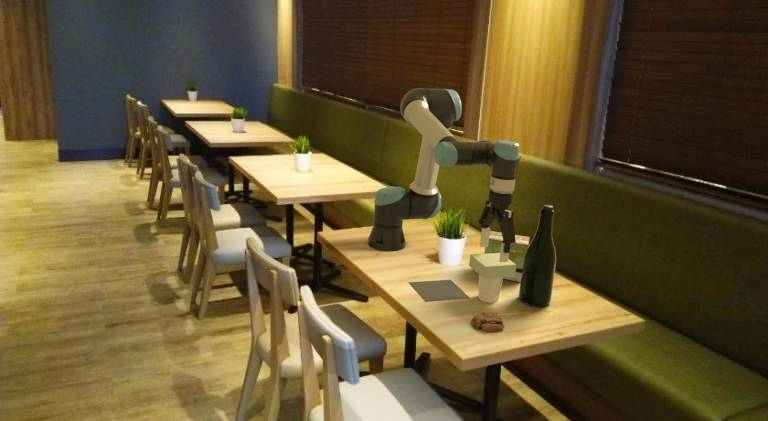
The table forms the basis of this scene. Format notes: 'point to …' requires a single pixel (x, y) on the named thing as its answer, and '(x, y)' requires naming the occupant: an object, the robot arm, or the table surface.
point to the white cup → (489, 289)
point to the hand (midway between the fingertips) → (493, 254)
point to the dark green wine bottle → (539, 263)
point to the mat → (438, 290)
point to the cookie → (488, 322)
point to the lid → (491, 266)
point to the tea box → (515, 252)
